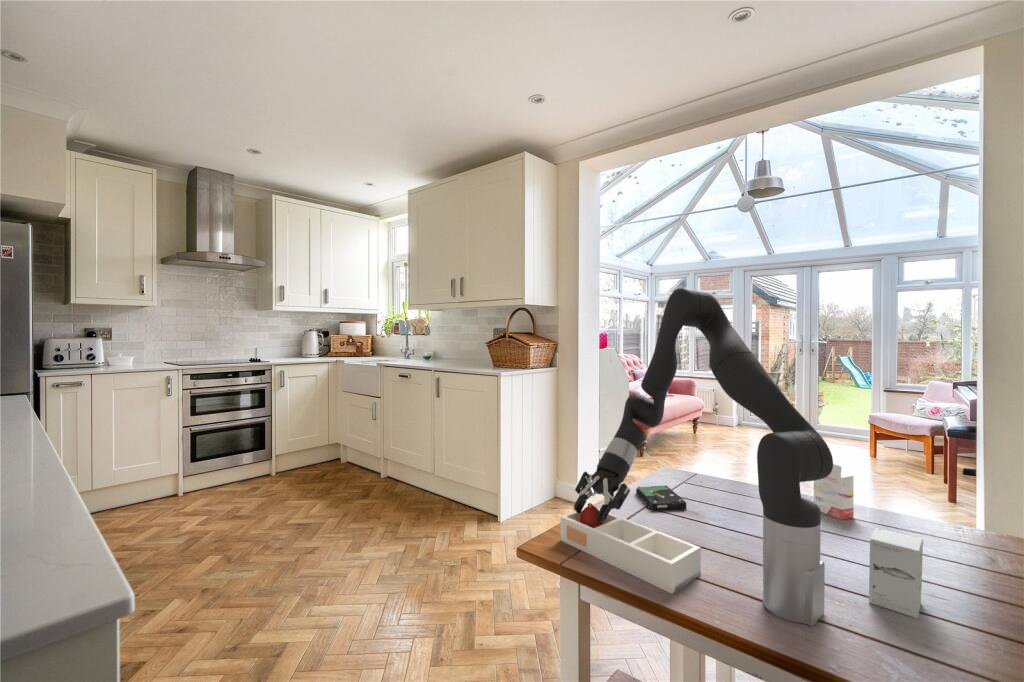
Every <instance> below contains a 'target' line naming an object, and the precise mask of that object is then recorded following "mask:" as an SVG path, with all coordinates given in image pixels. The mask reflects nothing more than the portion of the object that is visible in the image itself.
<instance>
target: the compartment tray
mask: <svg viewBox="0 0 1024 682" xmlns="http://www.w3.org/2000/svg"><path fill="white" fill-rule="evenodd" d="M586 507H587V506H584V507H583V509H582V511H583V510H584V509H585V508H586ZM597 509H598V510H600V509H601V508H597ZM582 511H581V512H582ZM580 514H581V513H577V512H576V511H575V510H574V511H571V512H570V513H566V514H563V515H561V516H560V520H559V521H560V524H559V525H560V541H561V542H563V543H565V544H567V545H570V546H572V547H573V548H575V549H578V550H580V551H582V552H584V553H586V554H589V555H590V556H593V557H595V558H597V559H599V560H601V561H603V562H605V563H606V564H609V565H611V566H613V567H615V568H617V569H619V570H621V571H623V572H625V573H627V574H630V575H632V576H634V577H636V578H638V579H641V580H642V581H644V582H646V583H649V584H651V585H653V586H655V587H656V588H658V589H661V590H663V591H665V592H667V593H668V594H671V595H673V594H674V593H676V592H677V591H679V590H681V589H682V588H683V587H684V586H686V585H688V584H690V583H691V582H692V581H694V580H695V579H697V578H698V577H700V576H701V574H702V571H701V567H702V566H701V563H702V558H701V553H702V552H701V551H702V550H701V549H702V547H701V546H698V545H696V544H694V543H693V544H692V543H691V542H688V541H686V540H682V539H679V538H677V537H674V536H672V535H669V534H666V533H663V532H661V531H658V530H656V529H653V528H650V527H647V526H645V525H642V524H640V523H637V522H634V521H632V520H630V519H626V518H624V517H621V516H619V515H615V514H613V513H611V512H609V514H608V516H607V518H606V520H605V521H603V525H601V526H598V527H596V528H592V527H589V526H587V525H585V524H582V523H580Z"/></svg>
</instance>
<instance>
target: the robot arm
mask: <svg viewBox="0 0 1024 682" xmlns="http://www.w3.org/2000/svg"><path fill="white" fill-rule="evenodd" d="M683 327H692V328H696V329H697V330H699V331H700V332H701V333H702V335H703V336H704V337H705V339H706V340H707V342H708V343H709V346H710V347H709V349H710V350H709V367H710V371H711V372H712V374H713V377H714V378H715V379H716V381H717V383H718V384H719V385H720V387H721V389H722V390H723V391H724V392H725V394H726V395H727V396H728V397H729V398H730V399H732V400H733V401H734V402H735V403H737V404H738V405H739V406H742V407H743V408H744V409H745V410H746V411H749V413H751V414H753V415H755V416H756V417H757V418H759V420H761V421H762V422H763V423H765V424H766V426H768V428H769V429H770V430H771V432H770V433H766V434H764V436H762V437H761V439H760V440H759V443H758V446H757V450H756V465H757V481H758V483H757V484H758V485H757V486H758V493H759V497H760V501H761V504H762V513H763V514H762V604H763V606H764V607H765V608H766V610H767V611H769V612H770V613H771V614H773V615H775V616H777V617H778V618H780V619H783V620H786V621H789V622H793V623H799V624H805V625H808V626H810V627H814V626H815V625H816V623H817V622H818V621H819V620H820V619H821V618H822V617H823V616H824V614H825V587H826V586H825V574H826V573H825V570H826V568H825V565H826V564H825V562H824V561H821V544H822V543H821V536H822V535H821V534H822V533H821V532H822V531H821V528H822V527H821V526H822V523H821V522H822V521H821V520H822V517H821V516H822V514H821V513H822V512H821V511H820V508H819V507H818V505H816V504H815V503H814V501H812V500H809V499H807V498H804V497H802V494H801V493H802V492H801V483H805V482H814V480H820V479H823V478H826V477H827V476H828V475H830V473H831V471H832V469H833V464H834V462H833V461H834V460H833V455H832V452H831V449H830V448H829V446H828V444H827V442H826V441H825V440H824V438H823V436H821V435H820V433H819V432H818V431H817V430H816V429H815V428H814V427H813V426H812V425H811V424H810V423H809V422H808V420H806V418H805V417H804V416H803V415H802V414H801V413H800V412H799V411H798V409H797V408H795V406H794V405H793V404H792V403H791V402H790V401H789V400H788V398H787V397H786V396H785V394H784V393H783V392H782V391H781V389H780V388H779V387H778V385H777V384H776V383H775V382H774V380H773V379H772V378H771V377H770V375H769V374H768V372H767V371H766V369H765V368H764V367H763V365H762V364H761V362H760V361H759V360H758V358H757V357H756V356H755V354H754V353H753V352H752V351H751V350H750V348H749V347H748V346H747V344H746V343H745V342H744V341H743V339H742V337H741V336H740V335H739V333H738V332H737V331H736V329H735V328H734V327H733V325H732V323H731V322H730V320H729V318H728V316H727V315H726V313H725V311H724V309H723V308H722V306H721V303H720V302H719V301H718V299H717V298H716V297H715V296H714V295H713V294H712V293H710V292H709V291H705V290H700V289H696V288H695V289H694V288H687V287H679V288H677V289H675V290H673V291H672V292H671V293H670V295H669V296H668V299H667V302H666V304H665V307H664V311H663V315H662V318H661V323H660V327H659V330H658V335H657V338H656V343H655V347H654V351H653V354H652V357H651V359H650V363H649V364H648V366H647V369H646V371H645V374H644V375H643V378H642V381H641V385H640V387H641V388H642V389H641V390H643V392H645V394H647V395H648V396H650V398H651V399H650V398H649V397H647V396H645V395H643V394H640V393H638V392H637V393H632V394H630V395H629V396H628V397H627V398H626V400H625V403H624V407H623V408H624V409H623V414H622V418H621V422H620V424H619V427H618V428H617V431H616V433H615V434H614V437H613V438H612V440H611V441H610V442H609V444H608V445H607V447H606V449H605V451H604V452H603V454H602V456H601V458H600V459H599V462H598V463H597V465H596V470H595V472H594V473H593V474H590V473H588V472H587V471H584V472H583V473H582V475H581V477H580V478H579V481H578V483H577V485H576V487H575V489H574V490H575V492H576V493H577V495H578V497H577V499H576V501H575V502H574V504H573V510H574V511H576V512H577V513H581V511H582V509H583V508H585V505H586V503H587V500H589V499H590V498H592V497H594V496H596V495H602V496H603V498H604V499H603V500H604V503H603V504H602V505H601V507H600V508H599V509H600V510H599V512H598V514H597V516H596V518H597V520H598V521H599V522H603V521H605V520H606V518H607V516H608V514H609V513H611V511H612V510H614V509H615V510H620V509H621V508H622V506H623V504H624V503H625V501H626V500H627V497H628V495H629V494H630V492H631V489H630V488H629V486H628V485H627V484H626V483H625V482H624V481H625V479H626V477H627V476H628V473H629V471H630V469H631V467H632V466H633V463H634V461H635V460H636V456H637V454H638V452H639V450H640V448H641V445H642V443H643V441H644V439H645V437H646V434H645V431H644V430H643V429H642V428H641V427H640V426H639V425H638V424H636V422H637V423H640V424H643V425H645V426H646V427H649V428H655V427H656V428H657V426H659V425H660V424H661V422H662V421H663V418H664V413H665V412H664V411H665V403H666V397H667V394H668V391H669V389H670V387H671V385H672V383H673V380H674V378H675V376H676V373H677V368H678V359H677V358H678V356H677V351H676V350H677V349H676V347H677V346H676V343H677V339H678V335H679V333H680V332H681V330H682V328H683ZM634 420H635V421H636V422H634ZM623 482H624V483H623ZM616 491H617V492H616ZM615 492H616V493H615Z"/></svg>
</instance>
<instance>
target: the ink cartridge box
mask: <svg viewBox="0 0 1024 682" xmlns="http://www.w3.org/2000/svg"><path fill="white" fill-rule="evenodd" d="M842 469H843V468H842V466H841V465H838V464H834V463H833V469H832V471H831V473H830V475H828V476H827V477H826V478H823V479H820V480H814V481H813V502H814V503H815V504H816V505H818V507H819V508H820V511H821V513H822V514H826V515H828V516H830V517H833V518H835V519H839V520H848V519H853V518H854V517H855V516H854V504H855V503H854V492H855V491H854V475H851V474H848V473H844V472H842Z"/></svg>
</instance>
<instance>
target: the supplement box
mask: <svg viewBox="0 0 1024 682" xmlns="http://www.w3.org/2000/svg"><path fill="white" fill-rule="evenodd" d="M869 541H870V542H869V572H868V573H869V577H868V578H869V580H868V581H869V582H868V583H869V584H868V604H871V605H877V606H880V607H882V608H885V609H889V610H892V611H894V612H897V613H900V614H904V615H906V616H909V617H911V618H915V619H919V615H920V609H921V605H922V604H921V603H922V589H923V588H922V585H923V548H924V539H923V538H921V537H916V536H912V535H907V534H903V533H899V532H895V531H891V530H887V529H882V528H878V527H874V530H873V532H872V534H871V537H870V539H869Z"/></svg>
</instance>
